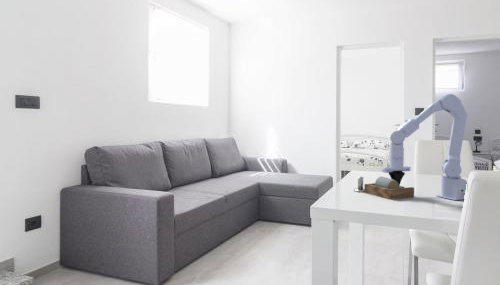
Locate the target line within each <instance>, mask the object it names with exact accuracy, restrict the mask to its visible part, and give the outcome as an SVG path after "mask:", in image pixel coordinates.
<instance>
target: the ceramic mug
mask: <svg viewBox="0 0 500 285" xmlns="http://www.w3.org/2000/svg"><path fill="white" fill-rule="evenodd" d="M374 183H375V186H379V187H383V188H387V189H398V188H399V184H398V182H397V181H395V180H393V179H391V178H389V177H386V176H379V177H377V179H376V180H375V181H374Z"/></svg>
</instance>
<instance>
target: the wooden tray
mask: <svg viewBox="0 0 500 285" xmlns="http://www.w3.org/2000/svg"><path fill="white" fill-rule="evenodd" d="M363 189H364V192H363V193H365V194H368V195H371V196H375V197H379V198H382V199H387V200H398V199H399V200H400V199H406V198H407V199H408V197H409V198H414V197H415V187H413V186H410V187H405V188H398V189H387V188H383V187H379V186H375V182H374V183H373V182H372V183H364V185H363Z"/></svg>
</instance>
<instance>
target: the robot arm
mask: <svg viewBox="0 0 500 285" xmlns="http://www.w3.org/2000/svg"><path fill="white" fill-rule="evenodd" d="M440 111H446V112H447V113H448V114H449V115H450V116H451V117H452V124H451V129H450V130H451V131H450V137H449V140H448V141H449V142H448V143H449V144H448V149H447V153H446V156H445V160H444V162H443V163H442V165H441V170H442V172H443V174H441V185H440V186H441V188H440V194H436V197H439V198H443V199H448V200H452V201H460V200H465V199H464V195H465V190H466V184H467V185H468V182H467V180H466V179H464V178H462V176H461V174H462V166H461V152H462V147H463V142H464V141H463V140H464V135H465V129H466V123H467V117H468V112H467V111H466V109H465V107H464V105H463V103H462V100H461V99H460V98H459V97H458V96H457V95H454V94H452V93H451V94H450V93H447V94H446V95H443V96H441V97H440V98H439V99H437V100H436V101H434V102H433V103H431V104H430V105H428V107H426V108H425V109H424V110H423V111H422V112H420V113H419V114H418V115H417V116H416V117H414V118H409V119H406V120H404V123H403V124H402V125H400V126H399V127H397V128H395V131H393V132H392V133H391V134H390V137H389V139H390V148H389V149H390V150H389V154H390V156H389V166H388V167H382V173H388V175H389V177H390V179H393V180H395V181H397V182H398V184H399V186H401V182H402V179H403V178H404V176H405V175H406V172H411V166H406V165H405V164H404V163H405V158H404V157H405V154H404V153H405V148H404V142H405V140H406V138H409V137H410V136H412V135H413V134H414V133H416V131H418V130H419V129H420V124H421V123H423V122H424V121H425V120H426V119H428V118H429V117H430V116H431V115H433V114H435V113H436V112H440Z"/></svg>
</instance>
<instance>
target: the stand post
mask: <svg viewBox="0 0 500 285" xmlns="http://www.w3.org/2000/svg"><path fill="white" fill-rule="evenodd" d="M353 192H354V193H355V192H356V193H364V177H363V176H358V177H357V188H354V189H353Z"/></svg>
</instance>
